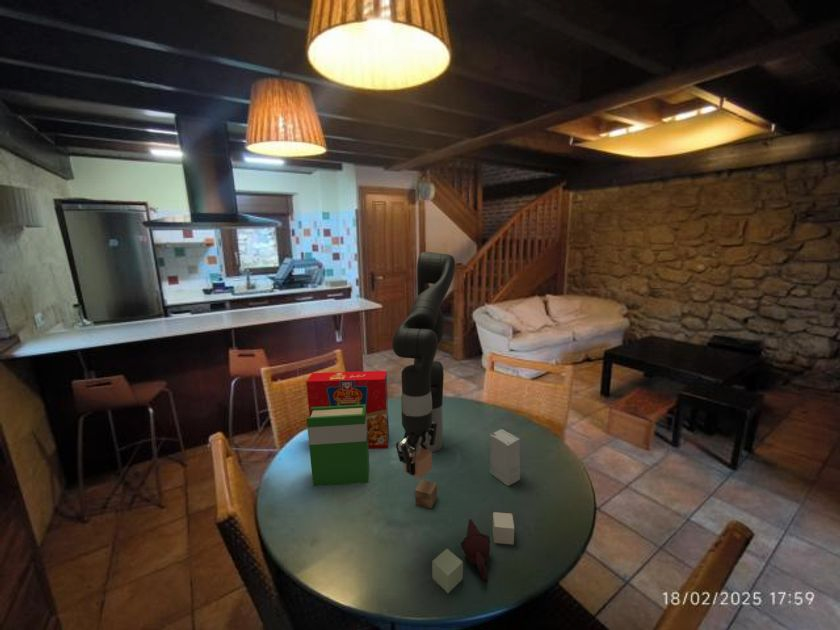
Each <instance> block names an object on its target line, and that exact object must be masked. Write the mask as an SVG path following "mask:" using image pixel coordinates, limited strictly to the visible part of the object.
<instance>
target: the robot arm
mask: <svg viewBox="0 0 840 630" xmlns="http://www.w3.org/2000/svg"><path fill="white" fill-rule="evenodd" d="M455 268H456V260H455V257H454V256H453V255H451V254H448V253H447V254H446V253H442V252H431V251H422V252H421V253H420V254H419V256H418V258H417V264H416V289H417V297H416V298H415V299H414V301H413V304H412V307H411V310H410V312H409V314H408V316H407V317H406V318H405V320H404V321H403V322H402V323H401V324H400V326H399V327H398V328H397V329H396V331H395V332H394V335H393V338H392V341H391V343H392V344H391V346H392V351H393V352H394V354H395V355H396V356H397V357H399V358H403V359H413V364H410V365H407V366H404V367H403V369H402V370H401V397H400V398H401V399H400V403H401V406H400V407H401V408H400V409H401V426H402V428H403V430H404V435H403V440H401V442H399V441H397V442H396V443H395V447H396V453H397V457H398V460H399V462H400V463H403V464H404V463H405V464H406V472H407V473H406V472H405V473H406V474H408V475H411V477H414V475H415V458H416V454H418V451H419V446H420V447H422V448H424V449H426V450H429V451H431V452H432V453H434V452H438V451H440V450H441V449H443V446H444V439H443V438H444V434H443V433H444V427H443V426H444V424H443V423H444V418H443V417H444V415H443V406H444V405H443V399H444V376H445V374H444V372H445V371H444V366H443V364H442V362H440V361H438V360H435V356H436V354H437V350H438V346H439V343H440V342H441V341H442V339H443V337H444V326H445V317H444V314H443V312H442V310H441V306H442V304H443V301H444V299H445V297H446V295H447V294H448V290H449V289H450V287H451V285H452V282H453V279H454V275H455ZM430 284H432V285H431V286H430ZM434 360H435V361H434ZM412 448H415V449H412ZM410 453H411V454H412V456H411V457H410V456H409V454H410Z"/></svg>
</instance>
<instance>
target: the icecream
mask: <svg viewBox="0 0 840 630" xmlns="http://www.w3.org/2000/svg"><path fill="white" fill-rule="evenodd" d="M490 544H491V540H490V536H489V535H486V534H484V533H482V532H481V531H480V530H479V529H478V527H477V525H476V523H474V521H473V519H471V518H469V519H468V525H467V531H466V537H464V538H463V540H462V541H461V542H460V546H461V549H462V550H463V553H464V555H465V557H467V560H469V563H470V564H472V565H476V566H477V568H478V570H479V574H480V577H481V579H482V581H483V582H486V581H487V580H488V569H487V567H486V561H487V560H488V558H489V556H490V549H491V547H490V546H491V545H490Z"/></svg>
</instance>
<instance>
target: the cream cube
mask: <svg viewBox="0 0 840 630" xmlns="http://www.w3.org/2000/svg"><path fill="white" fill-rule="evenodd" d="M492 534H493V535H492V537H493V544H504V545H514V543H515V542H514V541H515V524H514V517H513V513H509V512H508V513H507V512H498V511H497V512H496V511H495V512H494V511H493V512H492Z"/></svg>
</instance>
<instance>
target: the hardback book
mask: <svg viewBox="0 0 840 630" xmlns="http://www.w3.org/2000/svg"><path fill="white" fill-rule="evenodd" d="M306 428H307V434H308V435H307V437H308V446H309V448H308V449H309V457H310V467H311V469H310V470H311V477H312V487H324V486H338V485H349V484H350V485H353V484H361V483H362V484H363V483H364V484H365V483H366V484H367V483H369V480H370V452H369V450H370V449H368V432H367V414H366V404H360V405H343V406H326V407H311V417H310V416H307V417H306Z"/></svg>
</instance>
